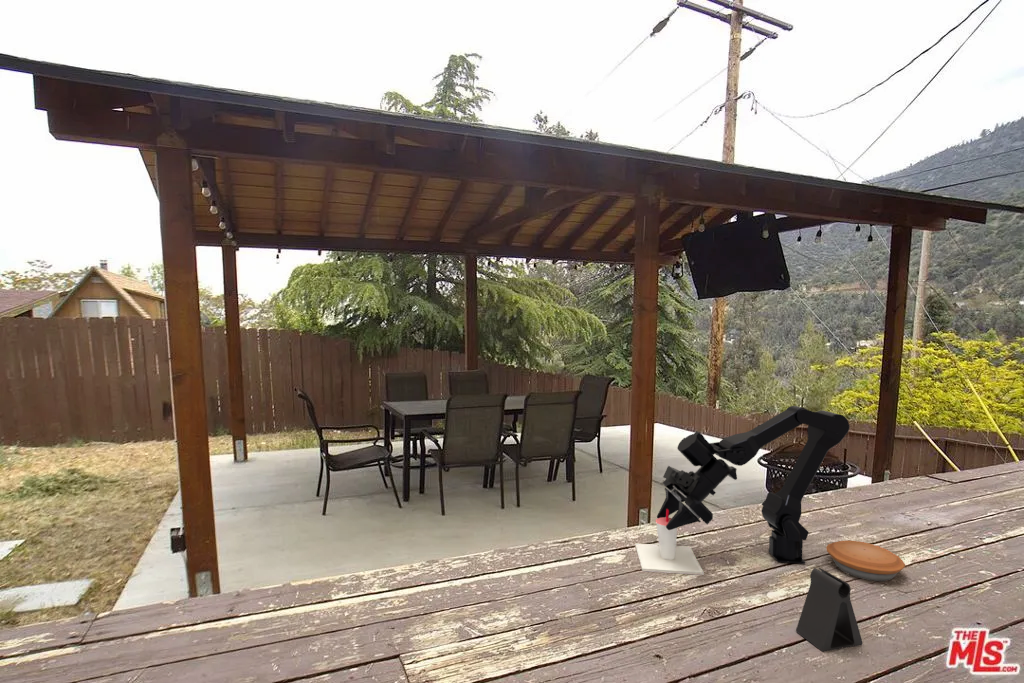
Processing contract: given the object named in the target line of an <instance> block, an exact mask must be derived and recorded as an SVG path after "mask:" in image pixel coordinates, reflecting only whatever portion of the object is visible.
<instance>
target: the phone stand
mask: <svg viewBox="0 0 1024 683" xmlns="http://www.w3.org/2000/svg"><path fill="white" fill-rule="evenodd" d="M809 583H810V584H809V587H808V591H807V594H806V598H805V601H804V604H803V608H802V610H801V614H800V617H799V620H798V623H797V625H796V629H795V632H796V633H797V634H799V635H800V636H801V637H802V638H804V639H806V640H807V641H808V642H809V643H811V644H812V645H814V647H816V648H817V649H818V650H820V652H823V653H824V652H830V651H836V650H842V649H848V648H852V647H853V648H855V647H859V646H862V645H863V644H864V643H863V640H862V635H861V632H860V629H859V625H858V622H857V618H856V616H855V615H856V614H855V611H854V608H853V604H852V601H851V592H852V591H851V589H852V588H851V585H850V584H849V583H848V582H846V581H844V580H843V579H841V578H839V577H837V576H835V575H834V574H832V573H830V572H829V571H826V569H823V568H821V567H818V568H816V567H813V569H812V570H811V571H810V582H809Z"/></svg>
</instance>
